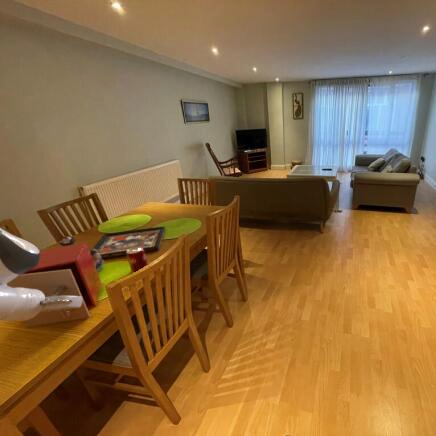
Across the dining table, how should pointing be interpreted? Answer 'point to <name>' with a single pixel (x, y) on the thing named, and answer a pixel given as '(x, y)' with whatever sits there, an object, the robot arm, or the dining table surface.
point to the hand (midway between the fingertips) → (60, 306)
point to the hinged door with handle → (52, 294)
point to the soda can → (136, 258)
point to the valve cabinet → (73, 268)
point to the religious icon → (129, 241)
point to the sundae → (67, 241)
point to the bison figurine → (97, 259)
